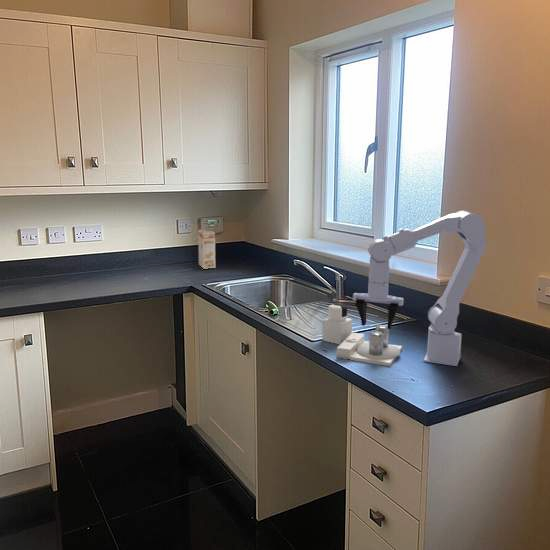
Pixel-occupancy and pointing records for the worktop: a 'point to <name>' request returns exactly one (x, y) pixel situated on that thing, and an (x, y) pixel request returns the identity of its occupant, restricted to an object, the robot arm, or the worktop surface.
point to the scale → (366, 351)
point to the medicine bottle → (336, 324)
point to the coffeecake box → (206, 248)
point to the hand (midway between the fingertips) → (376, 326)
